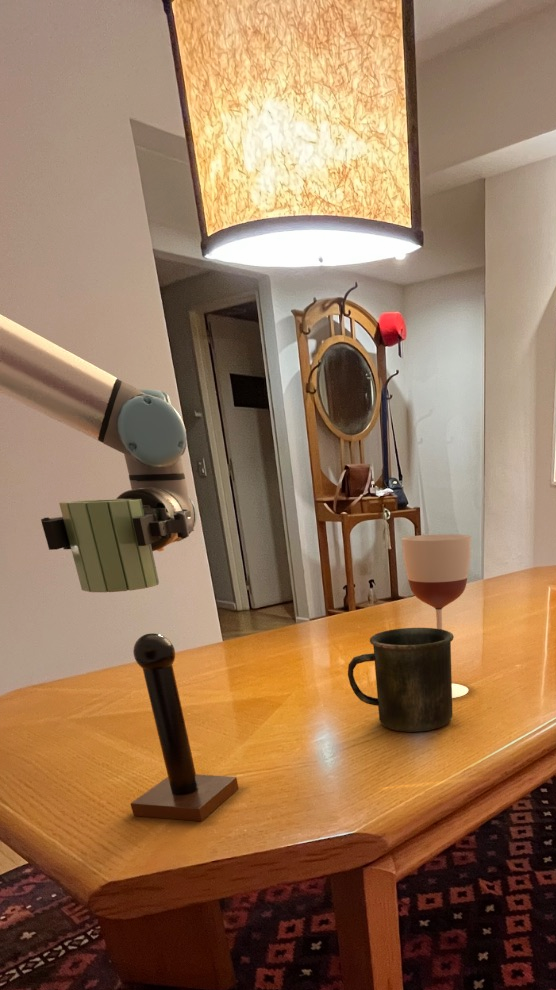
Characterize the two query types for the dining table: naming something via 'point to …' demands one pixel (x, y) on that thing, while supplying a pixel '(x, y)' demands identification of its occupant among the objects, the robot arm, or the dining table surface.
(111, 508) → the ribbed green pot
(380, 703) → the mug
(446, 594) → the wineglass
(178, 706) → the post stand
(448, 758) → the dining table surface
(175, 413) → the robot arm
